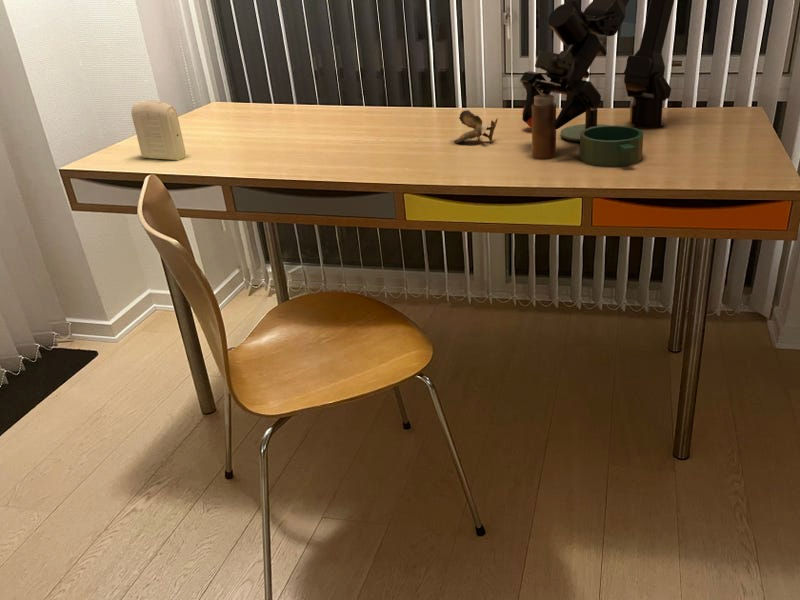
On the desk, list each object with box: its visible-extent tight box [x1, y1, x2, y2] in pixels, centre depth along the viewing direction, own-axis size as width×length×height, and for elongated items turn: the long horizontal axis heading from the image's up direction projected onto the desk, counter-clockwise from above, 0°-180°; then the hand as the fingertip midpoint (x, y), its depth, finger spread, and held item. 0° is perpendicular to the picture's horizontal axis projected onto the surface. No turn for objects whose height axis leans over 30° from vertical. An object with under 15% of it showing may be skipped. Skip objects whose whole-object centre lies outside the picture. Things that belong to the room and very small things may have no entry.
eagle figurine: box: [453, 109, 499, 144], centre depth 179 cm, size 8×7×9 cm
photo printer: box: [130, 100, 187, 161], centre depth 177 cm, size 10×4×12 cm, turn 73°
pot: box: [579, 124, 644, 167], centre depth 164 cm, size 13×18×5 cm
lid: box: [560, 107, 609, 143], centre depth 179 cm, size 14×14×6 cm
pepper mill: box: [531, 93, 557, 160], centre depth 166 cm, size 5×5×13 cm
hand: (539, 124), depth 165 cm, fingers open, 9 cm apart
